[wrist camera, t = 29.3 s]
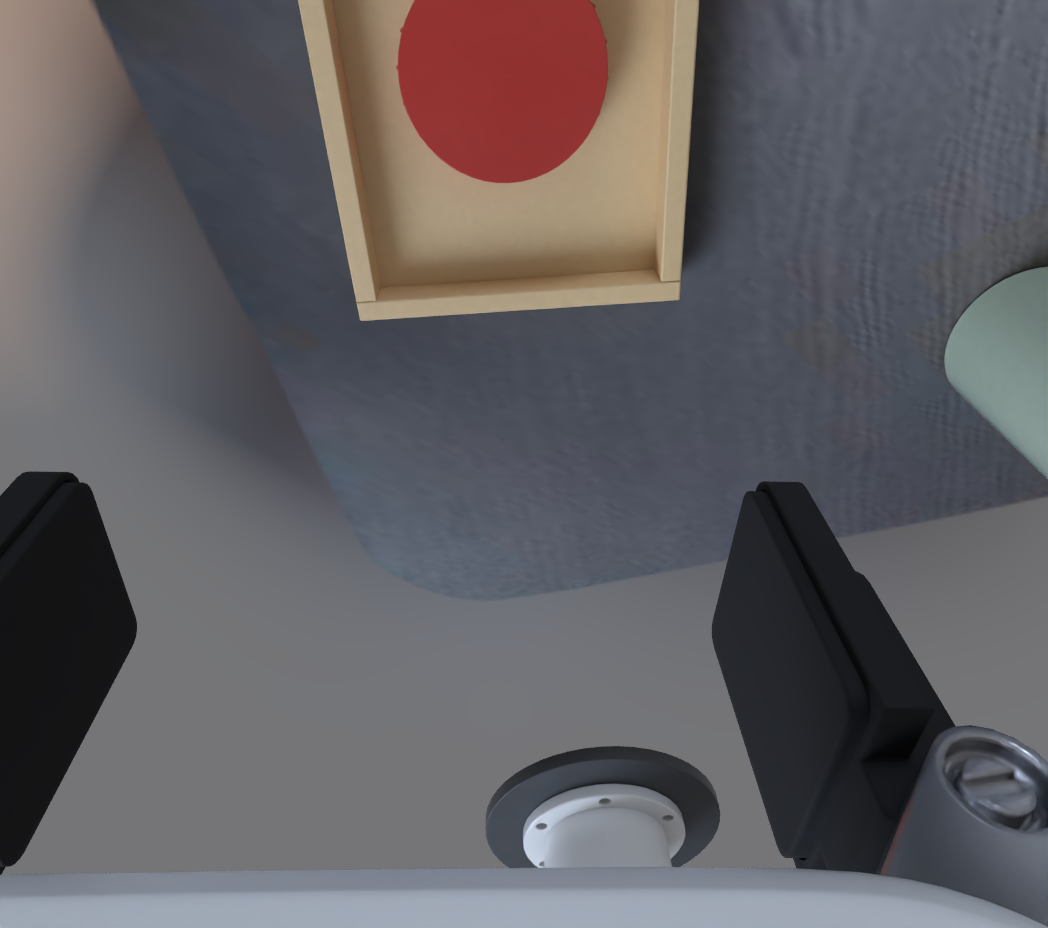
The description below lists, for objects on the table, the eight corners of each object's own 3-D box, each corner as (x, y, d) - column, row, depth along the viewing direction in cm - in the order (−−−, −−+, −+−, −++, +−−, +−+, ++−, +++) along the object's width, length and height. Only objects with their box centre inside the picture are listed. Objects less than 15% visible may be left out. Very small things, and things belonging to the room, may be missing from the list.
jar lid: (414, -80, 24) (410, -81, 22) (628, -25, 25) (636, -23, 23) (390, 151, 28) (385, 162, 26) (576, 190, 29) (580, 202, 27)
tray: (670, 281, 31) (680, 300, 30) (366, 301, 31) (360, 321, 30) (702, -269, 22) (719, -286, 20) (267, -239, 22) (248, -254, 20)
